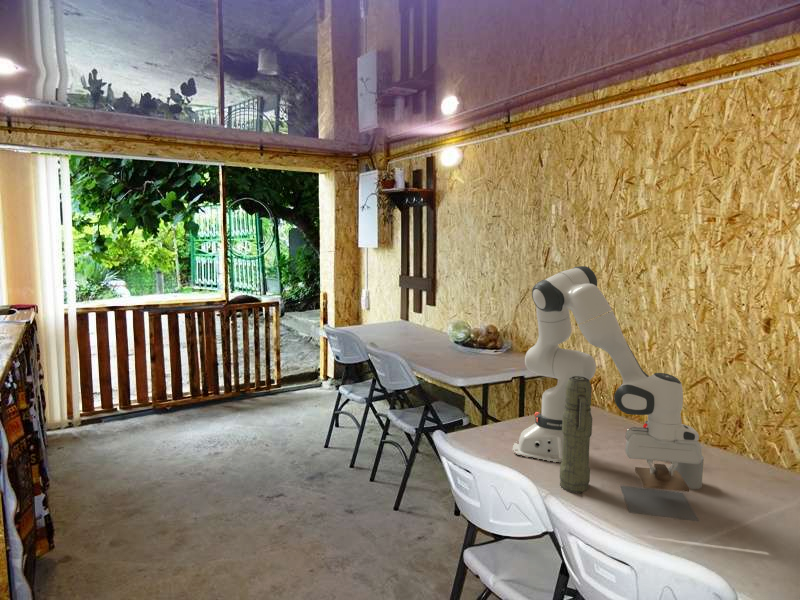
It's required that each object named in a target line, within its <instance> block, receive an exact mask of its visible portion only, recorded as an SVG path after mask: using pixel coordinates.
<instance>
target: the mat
mask: <svg viewBox="0 0 800 600" xmlns="http://www.w3.org/2000/svg"><path fill="white" fill-rule="evenodd" d="M619 486H620V490H621V492H622V495H623V498H624V501H625V504H626V507H627V510H628V513H632V514H640V515H647V516H653V517H654V516H655V517H664V518H669V519H671V518H672V519H678V520H687V521H692V522H693V521H694V522H695V521H696V522H700V520H699V518H698V516H697V515H696V513H695V512H694V510H693V507H692V506H691V504H690V502H689V501H688V499H687V497H686V496H685V494H684V493H683V492H680V491H678V492H677V491H672V490H663V489H655V488H646V487H635V486H626V485H619Z"/></svg>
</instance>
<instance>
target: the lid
mask: <svg viewBox="0 0 800 600" xmlns="http://www.w3.org/2000/svg"><path fill="white" fill-rule="evenodd" d="M653 467H656V469H657V472H656V473H657V474H656V475H654V474H651V473H650V467H640V466H639V467H638V466H635V468H634V471H635V473H636V474H637V477H638V480H640V483H641V485H642V488H645V489H655V490H666V491H676V492H677V491H678V492H680V491H681V492H686V493H687V492H688V493H689V492H690V489H689V487H688V486H687V484H686V483H685V481H684V480H683V478H682V477H681V475H680V474H679V472H678V471H673V476H669V470H668V468H669V467H667V465H666V463H665V464H663V463H653Z"/></svg>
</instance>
